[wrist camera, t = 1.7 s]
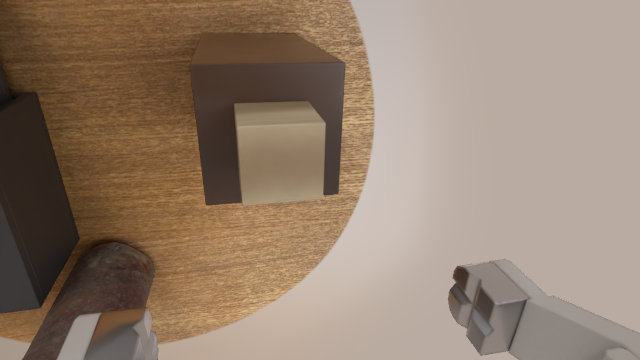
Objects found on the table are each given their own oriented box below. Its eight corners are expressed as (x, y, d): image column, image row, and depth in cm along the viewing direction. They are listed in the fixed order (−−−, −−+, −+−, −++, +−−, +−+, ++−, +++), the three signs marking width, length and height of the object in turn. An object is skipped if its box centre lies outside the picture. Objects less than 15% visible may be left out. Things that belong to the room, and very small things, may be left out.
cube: (233, 103, 20) (236, 126, 17) (308, 100, 21) (326, 122, 18) (238, 172, 22) (242, 206, 18) (307, 167, 23) (323, 199, 19)
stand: (202, 32, 33) (189, 64, 19) (295, 33, 35) (345, 62, 21) (211, 123, 36) (205, 206, 22) (295, 119, 38) (338, 194, 24)
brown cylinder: (59, 268, 39) (-70, 491, 22) (108, 222, 38) (14, 416, 21) (124, 304, 43) (57, 520, 25) (170, 262, 42) (134, 457, 24)
